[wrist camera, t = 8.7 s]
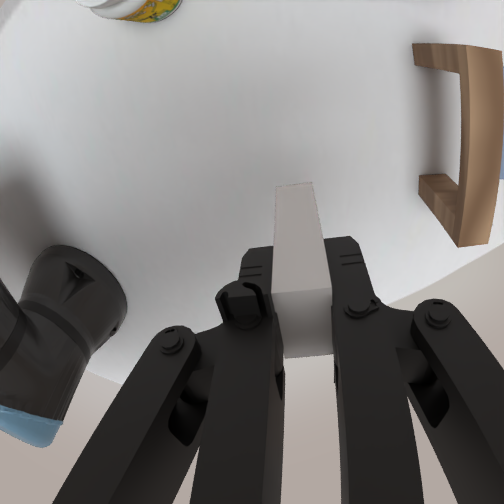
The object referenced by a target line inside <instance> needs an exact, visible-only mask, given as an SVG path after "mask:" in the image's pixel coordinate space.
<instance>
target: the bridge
mask: <svg viewBox="0 0 504 504" xmlns="http://www.w3.org/2000/svg"><path fill="white" fill-rule="evenodd" d="M412 47H413V55H414V63H415V65H416V66H423V67H429V68H434V69H440V70H445V71H450V72H454V73H459V74H460V89H461V155H460V172H459V184H458V185H457V184H456V183H455V182H454V181H453V180H452V179H451V178H449V177H448V176H447V175H446V174H435V175H419V193H418V194H419V196H420V197H421V198H422V200H423V201H424V202H425V203H426V205H427V206H428V207H429V209H430V210H431V211H432V213H433V214H434V215H435V217H436V218H437V219H438V221H439V222H440V223H441V225H442V226H443V227H444V229H445V230H446V232H447V233H448V235H449V236H450V237H451V239H452V240H453V242H454V243H455V245H456V246H457V248H459V247H467V246H475V245H482V244H488V241H489V237H490V232H491V227H492V222H493V217H494V211H495V206H496V200H497V193H498V186H499V178H500V170H501V160H502V148H503V132H504V77H503V61H502V51H499V50H494V49H489V48H483V47H477V46H470V45H460V44H429V43H417V44H412Z"/></svg>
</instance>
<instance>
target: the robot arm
mask: <svg viewBox="0 0 504 504" xmlns="http://www.w3.org/2000/svg"><path fill="white" fill-rule="evenodd" d="M240 269H241V270H240V273H239V278H238V280H237V281H233V282H231V283H229V284H227V285H225V286H224V287H223V288H222V289H221V290H220V291H219V292H218V293H217V295H216V297H215V300H216V303H217V306H218V309H219V311H220V314H221V317H222V319H223V323H222V324H220V325H219V326H217V327H215V328H212V329H210V330H207V331H203V332H200V333H197V334H194V333H193V332H192V330H191V329H190V328H187V327H185V326H172V327H168V328H165V329H164V330H162V331H160V332H159V333H158V334H157V335H156V336H155V337H154V338H153V339H152V341H151V342H150V344H149V345H148V347H147V348H146V350H145V351H144V353H143V354H142V356H141V358H140V359H139V361H138V362H137V364H136V365H135V367H134V368H133V370H132V372H131V373H130V375H129V376H128V378H127V379H126V381H125V383H124V384H123V386H122V387H121V389H120V391H119V392H118V394H117V396H116V397H115V399H114V400H113V402H112V404H111V405H110V407H109V408H108V410H107V412H106V413H105V415H104V417H103V418H102V420H101V421H100V423H99V425H98V426H97V428H96V430H95V431H94V433H93V434H92V436H91V438H90V439H89V441H88V443H87V444H86V446H85V448H84V449H83V451H82V453H81V455H80V456H79V458H78V460H77V462H76V463H75V465H74V467H73V468H72V470H71V472H70V473H69V475H68V477H67V478H66V480H65V482H64V484H63V485H62V487H61V489H60V491H59V492H58V494H57V496H56V498H55V500H54V501H53V503H52V504H172V503H173V501H174V499H175V497H176V495H177V493H178V491H179V488H180V486H181V484H182V482H183V480H184V478H185V476H186V474H187V472H188V469H189V467H190V465H191V463H192V461H193V459H194V457H195V454H196V452H197V450H198V448H199V453H198V458H197V465H196V469H195V475H194V481H193V487H192V492H191V498H190V504H280V502H281V484H282V463H283V438H284V406H285V371H284V366H283V353H284V357H285V358H298V357H310V356H320V355H330V354H334V383H335V386H336V398H337V412H338V427H339V443H340V466H341V467H340V468H341V504H424V498H423V489H422V481H421V474H420V466H419V459H418V453H417V446H416V441H415V435H414V429H413V424H412V418H411V413H410V408H409V404H408V399H407V397H408V398H409V400H410V402H411V404H412V406H413V408H414V410H415V412H416V414H417V416H418V418H419V420H420V422H421V424H422V426H423V428H424V430H425V432H426V434H427V436H428V439H429V440H430V443H431V445H432V447H433V449H434V451H435V453H436V455H437V458H438V460H439V462H440V464H441V466H442V468H443V471H444V473H445V475H446V477H447V479H448V482H449V484H450V486H451V488H452V491H453V493H454V496H455V498H456V500H457V503H458V504H504V370H503V368H502V367H501V365H500V364H499V362H498V361H497V360H496V358H495V357H494V355H493V354H492V353H491V351H490V350H489V349H488V347H487V346H486V345H485V343H484V342H483V341H482V339H481V338H480V337H479V335H478V334H477V333H476V331H475V330H474V329H473V328H472V327H471V325H470V324H469V322H468V321H467V320H466V319H465V317H464V316H463V315H462V314H461V313H460V311H459V310H458V309H457V308H456V307H455V306H454V305H453V304H451V303H450V302H447V301H445V300H442V299H429V300H425V301H423V302H422V303H420V304H418V306H417V307H416V309H415V310H414V311H407V310H399V309H394V308H390V307H389V306H386V305H385V304H383V303H382V302H381V300H380V299H379V298H378V297H377V296H376V295H375V293H374V290H373V287H372V284H371V281H370V277H369V274H368V271H367V268H366V265H365V263H364V259H363V255H362V252H361V249H360V247H359V244H358V243H357V242H356V241H355V240H354V239H353V238H352V237H350V236H345V237H336V238H327V239H323V235H322V230H321V225H320V220H319V215H318V210H317V205H316V200H315V196H314V191H313V186H312V182H310V183H302V184H294V185H286V186H278V187H276V203H275V226H274V246H267V247H258V248H250V249H249V250H248V251H247V252H246V254H245V255H244V256H243V257H242V261H241V267H240ZM126 311H127V304H126V299H125V296H124V293H123V291H122V289H121V287H120V285H119V284H118V282H117V281H116V279H115V278H114V277H113V276H112V274H111V273H110V272H109V271H108V270H107V269H106V268H105V267H104V266H103V265H102V264H101V263H99V262H98V261H97V260H95V259H94V258H93V257H91V256H89V255H88V254H86V253H84V252H82V251H80V250H78V249H75V248H72V247H68V246H52V247H49V248H47V249H46V250H44V251H43V252H42V253H41V254H40V256H39V257H38V258H37V259H36V260H35V261H34V263H33V265H32V267H31V269H30V273H29V275H28V278H27V280H26V283H25V286H24V289H23V292H22V296H21V299H20V301H19V302H18V304H17V302H16V301H15V300H14V298H13V297H12V295H11V294H10V292H9V291H8V289H7V288H6V286H5V285H4V283H3V282H2V280H1V279H0V430H2V431H4V432H6V433H7V434H9V435H11V436H13V437H15V438H17V439H19V440H21V441H23V442H25V443H28V444H30V445H33V446H35V447H40V448H43V447H47V446H49V445H50V444H51V443H52V441H53V439H54V437H55V435H56V433H57V431H58V429H59V427H60V425H62V424H63V420H64V417H65V415H66V412H67V410H68V407H69V405H70V403H71V400H72V398H73V395H74V393H75V390H76V388H77V386H78V384H79V382H80V379H81V377H82V375H83V373H84V370H85V368H86V366H87V364H88V362H89V359H90V358H91V356H92V354H93V353H95V352H96V351H97V350H98V349H99V348H100V347H101V346H102V345H103V344H104V343H105V342H106V341H107V340H108V339H109V338H110V337H111V336H113V335H114V334H115V333H116V332H117V331H118V329H119V328H120V326H121V324H122V322H123V320H124V318H125V315H126ZM199 446H200V447H199Z"/></svg>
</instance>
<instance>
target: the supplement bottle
mask: <svg viewBox="0 0 504 504" xmlns="http://www.w3.org/2000/svg"><path fill="white" fill-rule="evenodd" d="M75 1H76V2H77V3H78V4H79V5H81V6H84V7H88V8H90V10H91V11H92V12H93V13H94V14H96V15H98V16H100V17H103V18H107V19H116V20H127V21H135V22H143V23H152V22H157V21H160V20H162V19H164V18H166V17H167V16H169V15H170V14H172V13H173V12H174V11H175V10H176V9H177V8H178V6H179V5H180V3H181V1H182V0H75Z"/></svg>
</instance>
